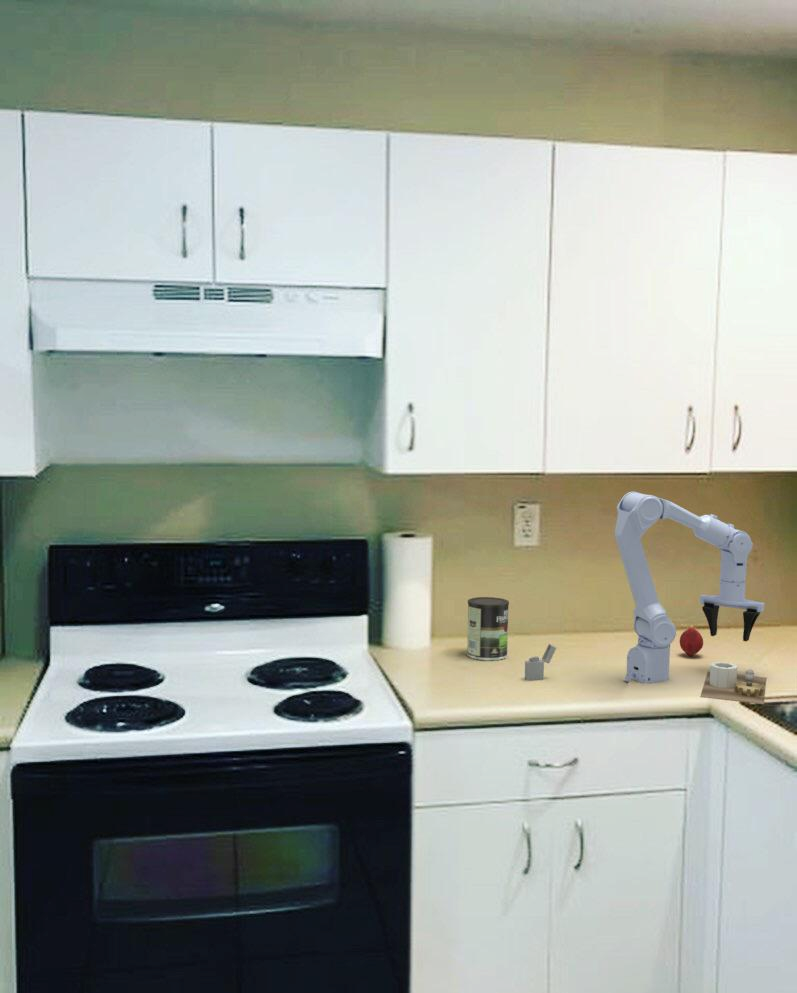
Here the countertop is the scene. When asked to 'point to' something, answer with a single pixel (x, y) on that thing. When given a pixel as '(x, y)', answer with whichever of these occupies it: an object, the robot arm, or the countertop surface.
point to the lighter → (538, 665)
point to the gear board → (730, 691)
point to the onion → (691, 641)
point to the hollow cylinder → (723, 674)
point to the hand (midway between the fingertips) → (729, 637)
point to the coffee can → (487, 628)
